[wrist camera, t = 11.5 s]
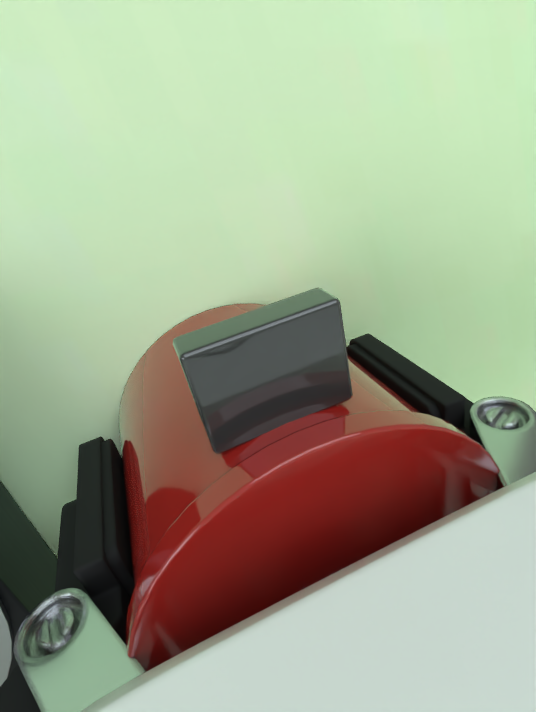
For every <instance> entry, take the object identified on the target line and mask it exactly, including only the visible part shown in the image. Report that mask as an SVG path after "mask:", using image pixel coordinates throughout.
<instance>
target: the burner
mask: <svg viewBox="0 0 536 712" xmlns="http://www.w3.org/2000/svg"><path fill="white" fill-rule="evenodd" d="M12 655H13V633H12V628H11V623H10V619H9V616H8V614H7V612H6V609H5V607H4V605H3V603H2V601H1V599H0V687H1V685H2V684H3V683H4V681H5V680H6V679H7V677H8V673H9V669H10V664H11V660H12Z"/></svg>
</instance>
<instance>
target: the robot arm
mask: <svg viewBox="0 0 536 712" xmlns="http://www.w3.org/2000/svg"><path fill="white" fill-rule="evenodd" d="M346 350H347V354H348V355H349V356H350V357H352V358H353V359H354V360H355V361H357V362H358V363H359V364H360V365H362V366H363V367H364V368H365V369H367V370H368V371H369V372H370V373H372V374H373V375H374V376H375V377H377V378H378V379H379V380H380V381H382V382H383V383H384V384H386V385H387V386H388V387H389V388H391V389H392V390H393V391H394V392H396V393H397V394H398V395H399V396H401V397H402V398H403V399H404V400H406V401H407V402H408V403H409V404H411V405H412V406H413V407H414V408H416V409H417V410H418V411H419V412H421V413H423V414H428V415H431V416H434V417H437V418H440V419H442V420H445V421H447V422H449V423H451V424H452V425H454V426H456V427H457V428H459V429H461V430H462V431H464V432H465V433H466V434H467V435H469V436H470V437H471V438H473V439H474V440H475V441H477V442H478V443H479V444H480V445H481V446H482V447H483V448H484V449H485V450H486V451H488V452H489V453H490V455H491V456H492V458H493V459H494V461H495V462H496V464H497V465H498V467H499V469H500V471H499V472H498V473H497V486H496V491H495V492H493V493H491V494H489V495H487V496H485V497H483V498H481V499H479V500H477V501H475V502H473V503H471V504H469V505H467V506H465V507H463V508H461V509H459V510H457V511H455V512H453V513H451V514H449V515H447V516H445V517H443V518H441V519H439V520H437V521H435V522H433V523H431V524H429V525H427V526H425V527H423V528H421V529H419V530H417V531H415V532H413V533H411V534H409V535H408V536H406V537H404V538H402V539H400V540H398V541H396V542H394V543H392V544H390V545H388V546H386V547H384V548H382V549H380V550H378V551H376V552H374V553H372V554H370V555H368V556H366V557H365V558H363V559H361V560H359V561H357V562H355V563H353V564H351V565H349V566H347V567H345V568H343V569H341V570H339V571H337V572H335V573H333V574H331V575H329V576H328V577H326V578H324V579H322V580H320V581H318V582H316V583H314V584H312V585H310V586H308V587H306V588H304V589H302V590H300V591H298V592H296V593H295V594H293V595H291V596H289V597H287V598H285V599H283V600H281V601H279V602H277V603H275V604H273V605H271V606H270V607H268V608H266V609H264V610H262V611H260V612H258V613H256V614H254V615H252V616H250V617H248V618H246V619H245V620H243V621H241V622H239V623H237V624H235V625H233V626H231V627H229V628H227V629H225V630H223V631H221V632H219V633H218V634H216V635H214V636H212V637H210V638H208V639H206V640H204V641H202V642H200V643H198V644H197V645H195V646H193V647H191V648H189V649H187V650H186V651H184V652H182V653H180V654H178V655H176V656H174V657H173V658H171V659H169V660H167V661H165V662H163V663H161V664H160V665H158V666H156V667H154V668H152V669H150V670H149V671H147V672H146V671H145V670H144V668H143V667H142V666H141V664H140V663H139V662H138V660H137V659H136V658H135V656H133V657H128V655H127V646H126V629H125V627H126V621H127V614H128V607H129V603H130V600H131V597H132V594H133V591H134V588H135V587H134V577H133V566H132V556H131V545H130V535H129V524H128V514H127V504H126V493H125V483H124V472H123V462H122V458H121V456H120V454H119V452H118V450H117V448H116V446H115V444H114V442H113V441H112V439H108V440H106V441H104V439H103V438H102V437H99V438H96V439H94V440H91V441H88V442H86V443H83V444H81V445H79V458H78V479H77V500H74V501H72V502H69V503H67V504H65V505H64V506H63V508H62V514H61V525H60V537H59V549H58V560H57V572H56V583H55V593H53V594H51V595H49V596H48V597H46V598H45V599H43V600H42V601H41V602H39V603H38V604H37V605H36V606H35V607H34V608H33V609H32V610H31V611H30V612H29V614H28V615H27V616H26V618H25V619H24V621H23V622H22V623H21V625H20V627H19V630H18V632H17V634H16V636H15V642H14V648H13V650H14V654H15V659H16V661H17V663H18V665H17V666H16V667H15V669H14V670H13V671H12V672H11V674H10V675H9V676H8V678H7V679H6V680H5V681H4V683H3V684H2V685H1V687H0V712H536V412H535V411H534V410H533V409H532V408H531V407H530V406H529V405H527V404H525V403H524V402H522V401H519V400H516V399H513V398H509V397H488V398H483V399H481V400H479V401H477V402H475V403H472V402H471V401H469V400H468V399H466V398H465V397H464V396H463V395H461V394H460V393H458V392H456V391H455V390H453V389H452V388H450V387H449V386H447V385H446V384H444V383H443V382H441V381H440V380H438V379H437V378H435V377H434V376H432V375H431V374H429V373H428V372H426V371H425V370H423V369H422V368H420V367H419V366H417V365H416V364H414V363H413V362H411V361H410V360H408V359H407V358H405V357H404V356H402V355H401V354H399V353H398V352H396V351H395V350H393V349H391V348H390V347H388V346H387V345H385V344H384V343H382V342H381V341H379V340H378V339H376V338H375V337H373V336H372V335H370V334H365V335H363V336H360V337H358V338H355V339H352V340H351V341H350V344H349V346H347V347H346Z"/></svg>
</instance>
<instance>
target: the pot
mask: <svg viewBox="0 0 536 712" xmlns="http://www.w3.org/2000/svg"><path fill="white" fill-rule="evenodd" d="M119 429H120V441H121V451H122V462H123V472H124V483H125V493H126V504H127V514H128V524H129V535H130V545H131V556H132V566H133V577H134V587H135V588H134V591H133V594H132V597H131V600H130V603H129V607H128V614H127V621H126V627H125V629H126V646H127V655H128V657H133V656H135V658H136V659H137V660H138V662H139V663H140V664H141V666H142V667H143V668H144V670H145V671H146V672H147V671H149V670H150V669H152V668H154V667H156V666H158V665H160V664H161V663H163V662H165V661H167V660H169V659H171V658H173V657H174V656H176V655H178V654H180V653H182V652H184V651H186V650H187V649H189V648H191V647H193V646H195V645H197V644H198V643H200V642H202V641H204V640H206V639H208V638H210V637H212V636H214V635H216V634H218V633H219V632H221V631H223V630H225V629H227V628H229V627H231V626H233V625H235V624H237V623H239V622H241V621H243V620H245V619H246V618H248V617H250V616H252V615H254V614H256V613H258V612H260V611H262V610H264V609H266V608H268V607H270V606H271V605H273V604H275V603H277V602H279V601H281V600H283V599H285V598H287V597H289V596H291V595H293V594H295V593H296V592H298V591H300V590H302V589H304V588H306V587H308V586H310V585H312V584H314V583H316V582H318V581H320V580H322V579H324V578H326V577H328V576H329V575H331V574H333V573H335V572H337V571H339V570H341V569H343V568H345V567H347V566H349V565H351V564H353V563H355V562H357V561H359V560H361V559H363V558H365V557H366V556H368V555H370V554H372V553H374V552H376V551H378V550H380V549H382V548H384V547H386V546H388V545H390V544H392V543H394V542H396V541H398V540H400V539H402V538H404V537H406V536H408V535H409V534H411V533H413V532H415V531H417V530H419V529H421V528H423V527H425V526H427V525H429V524H431V523H433V522H435V521H437V520H439V519H441V518H443V517H445V516H447V515H449V514H451V513H453V512H455V511H457V510H459V509H461V508H463V507H465V506H467V505H469V504H471V503H473V502H475V501H477V500H479V499H481V498H483V497H485V496H487V495H489V494H491V493H493V492H495V491H496V486H497V473H498V472H499V471H500V469H499V467H498V465H497V464H496V462H495V461H494V459H493V458H492V456H491V455H490V453H489V452H488V451H486V450H485V449H484V448H483V447H482V446H481V445H480V444H479V443H478V442H477V441H475V440H474V439H473V438H471V437H470V436H469V435H467V434H466V433H465V432H464V431H462V430H461V429H459V428H457V427H456V426H454V425H452V424H451V423H449V422H447V421H445V420H442V419H440V418H437V417H434V416H431V415H428V414H423V413H421V412H419V411H418V410H417V409H416V408H414V407H413V406H412V405H411V404H409V403H408V402H407V401H406V400H404V399H403V398H402V397H401V396H399V395H398V394H397V393H396V392H394V391H393V390H392V389H391V388H389V387H388V386H387V385H386V384H384V383H383V382H382V381H380V380H379V379H378V378H377V377H375V376H374V375H373V374H372V373H370V372H369V371H368V370H367V369H365V368H364V367H363V366H362V365H360V364H359V363H358V362H357V361H355V360H354V359H353V358H352V357H350V356H349V355H348V354H347V350H346V342H345V335H344V328H343V320H342V313H341V306H340V301H339V300H338V298H337V297H335V296H333V295H332V294H330V293H328V292H327V291H325V290H323V289H322V288H315V289H312V290H309V291H306V292H303V293H300V294H298V295H295V296H292V297H289V298H286V299H283V300H280V301H278V302H275V303H272V304H269V305H261V304H235V305H228V306H222V307H218V308H214V309H211V310H207V311H204V312H202V313H200V314H197V315H195V316H192V317H190V318H188V319H187V320H185V321H183V322H181V323H180V324H178V325H176V326H175V327H173V328H172V329H171V330H169V331H168V332H166V333H165V334H164V335H162V336H161V337H160V338H159V339H158V340H157V341H156V342H155V343H154V344H153V345H152V346H151V347H150V348H149V349H148V350H147V351H146V353H145V354H144V355H143V356H142V358H141V359H140V360H139V362H138V363H137V365H136V366H135V368H134V370H133V371H132V373H131V375H130V377H129V379H128V382H127V384H126V386H125V388H124V392H123V396H122V399H121V403H120V412H119Z"/></svg>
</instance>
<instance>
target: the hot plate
mask: <svg viewBox="0 0 536 712" xmlns="http://www.w3.org/2000/svg"><path fill="white" fill-rule="evenodd" d="M56 572H57V558H56V557H55V555H54V554H53V553H52V551H51V550H50V549H49V547H48V546H47V545H46V543H45V542H44V540H43V539H42V538H41V536H40V535H39V534H38V532H37V531H36V530H35V528H34V527H33V525H32V524H31V523H30V521H29V520H28V519H27V517H26V516H25V515H24V513H23V512H22V510H21V509H20V508H19V506H18V505H17V504H16V502H15V501H14V500H13V498H12V497H11V495H10V494H9V493H8V491H7V490H6V489H5V487H4V486H3V485H2V483H1V482H0V599H1V601H2V603H3V605H4V607H5V609H6V612H7V614H8V616H9V619H10V623H11V628H12V633H13V648H14V642H15V636H16V634H17V632H18V630H19V627H20V625H21V623H22V622H23V621H24V619H25V618H26V616H27V615H28V614H29V612H30V611H31V610H32V609H33V608H34V607H35V606H36V605H37V604H38V603H39V602H41V601H42V600H43V599H45V598H46V597H48V596H49V595H51V594H53V593H55V583H56ZM17 665H18V663H17V661H16V659H15V654H14V650H13V655H12V660H11V664H10V669H9V673H8V676H9V675H10V674H11V672H12V671H13V670H14V669H15V667H16V666H17ZM7 678H8V677H7Z"/></svg>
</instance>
